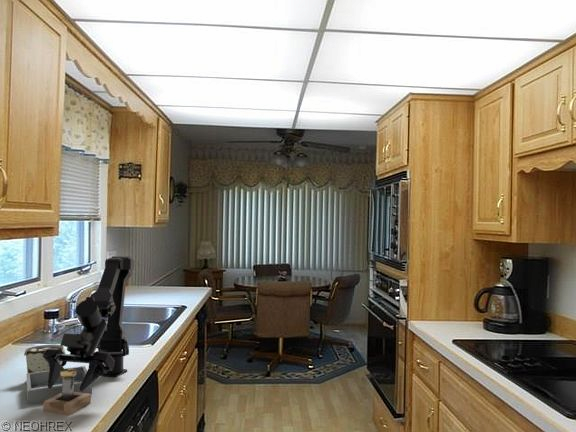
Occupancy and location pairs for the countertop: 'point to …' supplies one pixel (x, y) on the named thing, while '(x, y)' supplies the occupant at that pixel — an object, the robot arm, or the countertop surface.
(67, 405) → the socket block
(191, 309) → the countertop surface
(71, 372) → the pin
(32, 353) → the food container
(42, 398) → the tray
